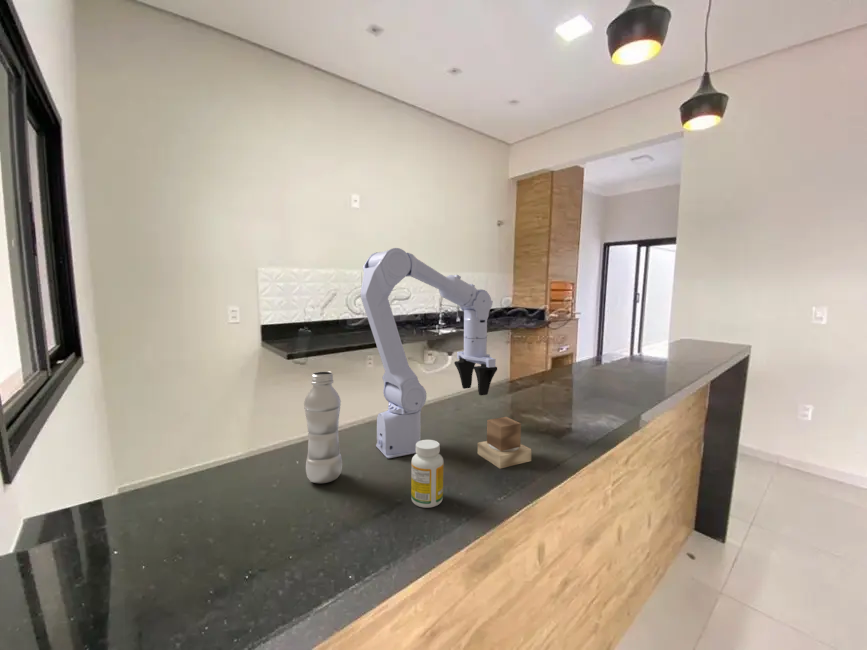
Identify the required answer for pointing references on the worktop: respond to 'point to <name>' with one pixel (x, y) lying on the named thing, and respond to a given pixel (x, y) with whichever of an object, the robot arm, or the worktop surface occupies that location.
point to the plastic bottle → (323, 429)
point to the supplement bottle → (427, 474)
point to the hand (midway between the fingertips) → (474, 391)
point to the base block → (504, 455)
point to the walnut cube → (504, 433)
